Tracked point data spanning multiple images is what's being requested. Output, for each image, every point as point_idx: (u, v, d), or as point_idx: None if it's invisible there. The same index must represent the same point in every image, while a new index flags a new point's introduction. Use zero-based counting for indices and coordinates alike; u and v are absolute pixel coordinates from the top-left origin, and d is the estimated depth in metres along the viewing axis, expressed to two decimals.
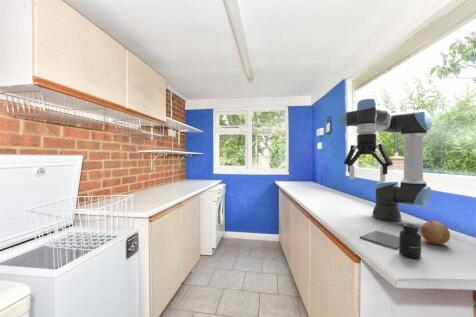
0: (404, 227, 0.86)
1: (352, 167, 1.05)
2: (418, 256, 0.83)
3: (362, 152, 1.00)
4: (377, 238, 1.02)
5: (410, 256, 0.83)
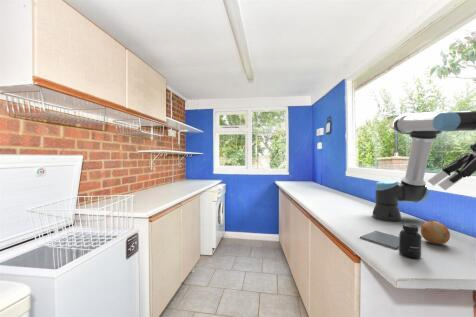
0: (404, 227, 0.86)
1: None
2: (418, 256, 0.83)
3: None
4: (377, 238, 1.02)
5: (410, 256, 0.83)
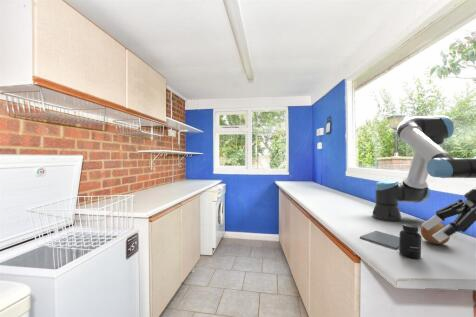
0: (404, 227, 0.86)
1: None
2: (418, 256, 0.83)
3: None
4: (377, 238, 1.02)
5: (410, 256, 0.83)
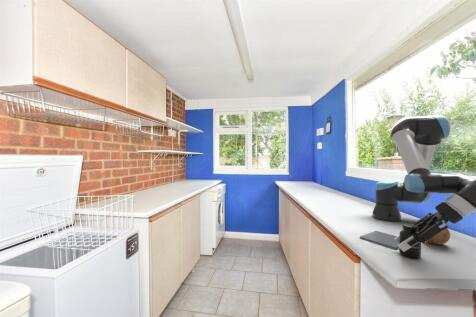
0: (404, 227, 0.86)
1: None
2: (418, 256, 0.83)
3: None
4: (377, 238, 1.02)
5: (410, 256, 0.83)
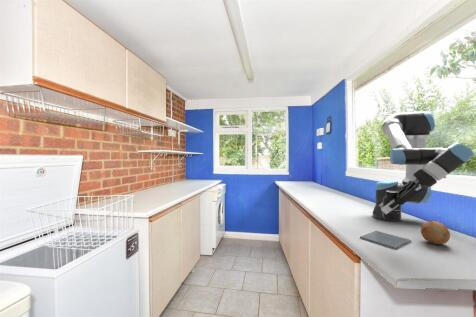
0: (387, 193, 0.96)
1: None
2: (398, 217, 0.93)
3: None
4: (377, 238, 1.02)
5: (391, 218, 0.94)
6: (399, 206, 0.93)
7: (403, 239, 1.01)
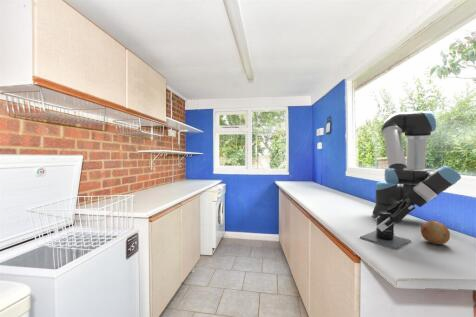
0: (380, 214, 1.02)
1: None
2: (391, 238, 0.99)
3: None
4: (377, 238, 1.02)
5: (384, 238, 0.99)
6: (391, 227, 0.99)
7: (403, 239, 1.01)
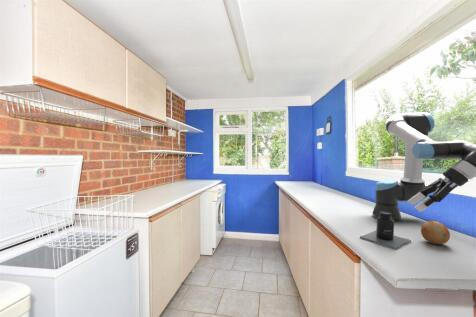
0: (380, 214, 1.02)
1: None
2: (391, 238, 0.99)
3: None
4: (377, 238, 1.02)
5: (384, 238, 0.99)
6: (391, 227, 0.99)
7: (403, 239, 1.01)
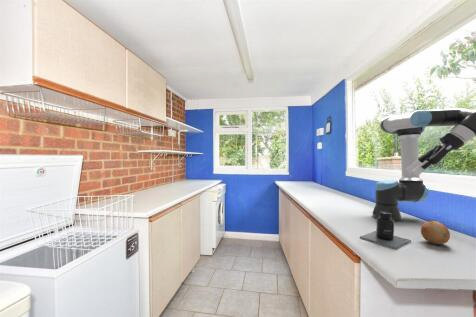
0: (380, 214, 1.02)
1: None
2: (391, 238, 0.99)
3: None
4: (377, 238, 1.02)
5: (384, 238, 0.99)
6: (391, 227, 0.99)
7: (403, 239, 1.01)
